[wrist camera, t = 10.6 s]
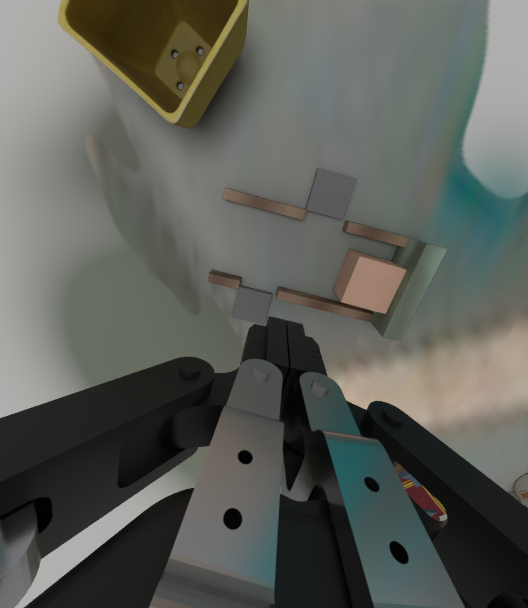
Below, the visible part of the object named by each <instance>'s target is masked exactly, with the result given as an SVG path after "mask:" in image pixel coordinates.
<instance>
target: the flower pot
mask: <svg viewBox="0 0 528 608" xmlns="http://www.w3.org/2000/svg"><path fill="white" fill-rule="evenodd" d="M248 5H249V0H62V1H61V4H60V8H59V14H58V23H59V25H60V26H61V27H62V29H63V30H64V31H66V32H67V33H68V34H69V35H70V36H71V37H73V38H74V39H75V40H76V41H77V42H79V43H80V44H81V45H82V46H83V47H85V48H86V49H87V50H88V51H89V52H91V53H92V54H93V55H94V56H95V57H96V58H98V59H99V60H100V61H101V62H102V63H104V64H105V65H106V66H107V67H108V68H109V69H110V70H112V71H113V72H114V73H115V74H116V75H117V76H118V77H120V78H121V79H122V80H123V81H124V82H125V83H126V84H127V85H128V86H129V87H131V88H132V89H133V90H134V91H135V92H136V93H137V94H138V95H139V96H140V97H142V98H143V99H144V100H145V101H146V102H147V103H148V104H149V105H150V106H152V107H153V108H154V109H155V110H156V111H157V112H158V113H159V114H160V115H161V116H162V117H163V118H164V119H166V120H167V121H168V122H169V123H172V124H175V125H178V126H181V127H185V128H193V127H194V126H195V125H196V124H197V123H198V122H199V120H200V118H201V117H202V115H203V113H204V112H205V110H206V108H207V107H208V105H209V103H210V102H211V100H212V98H213V97H214V95H215V93H216V92H217V90H218V88H219V87H220V85H221V84H222V82H223V80H224V79H225V77H226V76H227V74H228V72H229V71H230V69H231V68H232V66H233V64H234V63H235V61H236V60H237V58H238V57H239V55H240V53H241V51H242V49H243V46H244V43H245V38H246V29H247V18H248ZM199 47H201V48H202V49H203V54H202V55H198V53H197V49H198V48H199ZM173 51H177V53H178V57H177V58H173V57H172V52H173ZM179 82H181V83H183V89H181V90H180V89H178V87H177V85H178V83H179Z"/></svg>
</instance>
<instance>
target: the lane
mask: <svg viewBox="0 0 528 608" xmlns="http://www.w3.org/2000/svg"><path fill="white" fill-rule="evenodd" d="M223 199H227V200H230V201H234V202H238V203H241V204H245V205H249V206H253V207H256V208H260V209H264V210H267V211H271V212H275V213H279V214H282V215H286V216H290V217H293V218H297V219H301V220H304V219H305V216H306V212H307V210H305V209H301V208H297V207H294V206H290V205H286V204H283V203H279V202H275V201H272V200H268V199H264V198H261V197H257V196H253V195H250V194H246V193H242V192H238V191H235V190H231V189H227V188H225V189H224V195H223ZM343 230H344V231H346V232H349V233H353V234H356V235H360V236H364V237H368V238H371V239H375V240H379V241H382V242H386V243H390V244H394V245H397V246H398V248H397V250H396V252H395V254H394V257H393V259H392V262H394V263H395V264H397V265H399V266H401V267H403V268H405V269H406V270H407V271H406V273H405V275H404V277H403V279H402V281H401V283H400V285H399V287H398V289H397V291H396V293H395V296H394V298H393V300H392V302H391V304H390V306H389V308H388V310H387V312H386V314H383V313H380V312H376V311H372V310H368V309H365V308H361V307H357V306H353V305H349V304H345V303H341V302H337V301H333V300H329V299H325V298H321V297H317V296H313V295H309V294H306V293H302V292H298V291H294V290H290V289H286V288H282V287H278V290H277V293H276V299H279V300H283V301H287V302H291V303H295V304H299V305H303V306H307V307H311V308H315V309H319V310H323V311H327V312H331V313H335V314H339V315H344V316H348V317H352V318H356V319H360V320H364V321H368V322H371V323H372V324H373V325H374V327H375V328H376V329H377V330H378V332H379V333H380V334H381V336H382V337H385V338H389V339H393V340H397V341H401V339H402V337H403V335H404V333H405V331H406V329H407V327H408V325H409V323H410V321H411V319H412V317H413V315H414V313H415V311H416V310H417V308H418V306H419V304H420V302H421V300H422V298H423V296H424V294H425V292H426V290H427V288H428V286H429V284H430V282H431V280H432V278H433V276H434V274H435V272H436V270H437V268H438V266H439V264H440V262H441V260H442V259H443V257H444V255H445V253H446V251H447V249H445V248H442V247H439V246H435V245H432V244H429V243H425V242H422V241H419V240H415V239H411V238H408V237H404V236H400V235H397V234H393V233H389V232H386V231H382V230H378V229H375V228H371V227H367V226H364V225H360V224H356V223H352V222H349V221H345V224H344V227H343ZM240 281H241V277H238V276H234V275H230V274H226V273H222V272H218V271H214V270H212V271H211V272H210V273H209V277H208V282H211V283H215V284H219V285H223V286H227V287H231V288H235V289H238V288H239V285H240Z"/></svg>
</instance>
